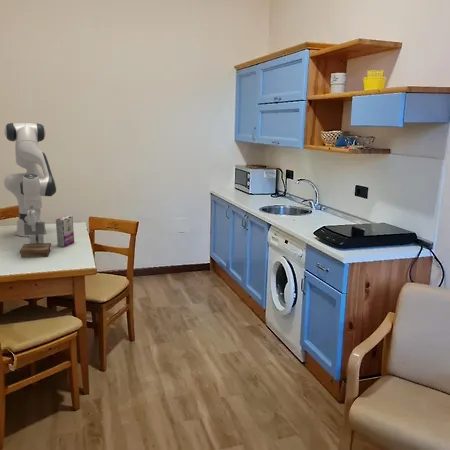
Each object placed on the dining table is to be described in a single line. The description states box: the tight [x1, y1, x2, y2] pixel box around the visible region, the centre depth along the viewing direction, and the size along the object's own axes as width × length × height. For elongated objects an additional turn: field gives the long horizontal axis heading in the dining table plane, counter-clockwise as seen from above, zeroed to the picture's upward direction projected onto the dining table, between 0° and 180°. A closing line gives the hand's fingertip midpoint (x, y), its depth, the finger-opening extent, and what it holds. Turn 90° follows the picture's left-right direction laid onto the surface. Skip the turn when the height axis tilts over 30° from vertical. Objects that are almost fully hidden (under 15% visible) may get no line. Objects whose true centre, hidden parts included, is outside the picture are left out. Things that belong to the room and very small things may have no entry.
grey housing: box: [24, 221, 46, 235], centre depth 257 cm, size 10×4×6 cm, turn 103°
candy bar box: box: [55, 215, 75, 248], centre depth 277 cm, size 11×5×16 cm, turn 168°
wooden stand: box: [19, 242, 52, 259], centre depth 260 cm, size 14×14×4 cm
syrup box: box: [28, 221, 45, 244], centre depth 273 cm, size 6×6×14 cm
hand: (34, 229), depth 257 cm, fingers closed on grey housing, 4 cm apart
